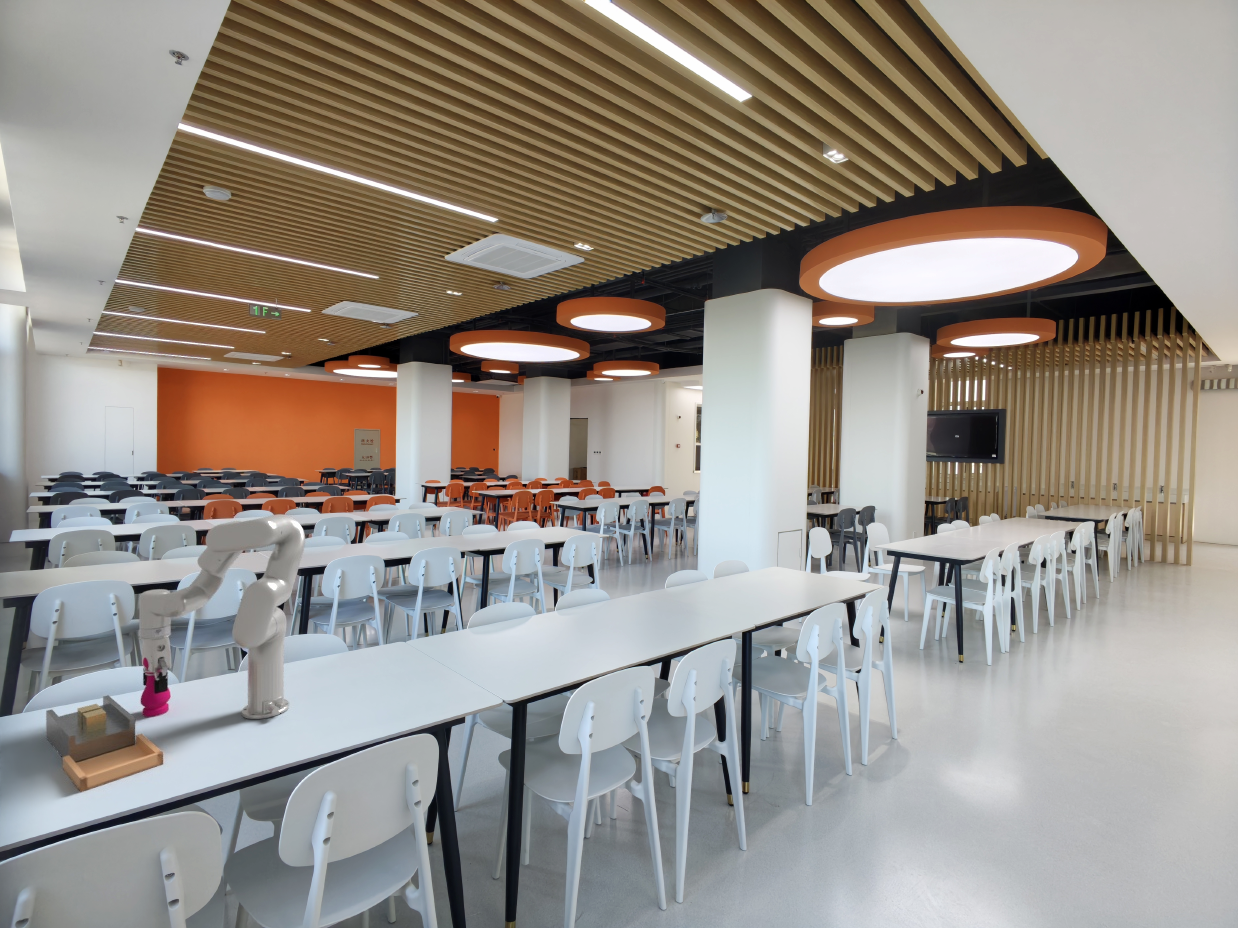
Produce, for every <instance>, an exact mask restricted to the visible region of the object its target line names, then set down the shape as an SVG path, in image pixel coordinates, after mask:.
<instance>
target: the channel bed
mask: <svg viewBox="0 0 1238 928" xmlns="http://www.w3.org/2000/svg"><path fill="white" fill-rule="evenodd" d="M99 706H100V707H101V709H103V710H104V711H105V712H106V728H102V729H98V730H95V731H91V732H88V733H87V732H86V731H85V730H84V729H83V727H81V726H80V725H79V724H78V711H75V712H71V713H67V714H63V715H58V714H57V713H56V712H55V711H54V710H53V708H52V709H48V710H46V712H45V714H46V716H45V718H46V719H45V720H46V721H45V722H46V723H45V726H46V727H45V728H46V737H47V738H48V739H47V738H46V739H47V741H48V742H49V741H50V742H51V743H52V744H51V743H50V742H49V743H50V744H51V745H52V747H53V746H54V747H55V748H54V747H53V748H54V749H55V750H56V751H58V752H59V753H58V752H57V753H58V755H60V757H61V756H62V757H61V758H62V759H63V757H65V756H68V755H69V756H70V757H71V758H72V759H73V760H74V762H75V763H77V762H81V761H84V760H87V759H90V758H94V757H97V756H100V755H103V754H107V753H110V752H113V751H116V750H119V749H123V748H126V747H129V746H132V745H136V718H135V716H134V715H132V714H131V713H129V711H127V709H125V708H124V707H123V706H122V705H120V704H119V703H118V702H117V701H116V700H115V699H113V698H112V697H111V696H110V695H105V696H102V705H99Z"/></svg>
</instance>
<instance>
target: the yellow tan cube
mask: <svg viewBox="0 0 1238 928" xmlns="http://www.w3.org/2000/svg"><path fill="white" fill-rule="evenodd" d="M100 706H101V705H99V704H97V703H94V704H89V705H86V706H83V707H82V706H81V707H77V711H76V712H78V724H79V725H80V726H81V727H83V713H87V712H90V711H94V710H98V709H101V707H100Z"/></svg>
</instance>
